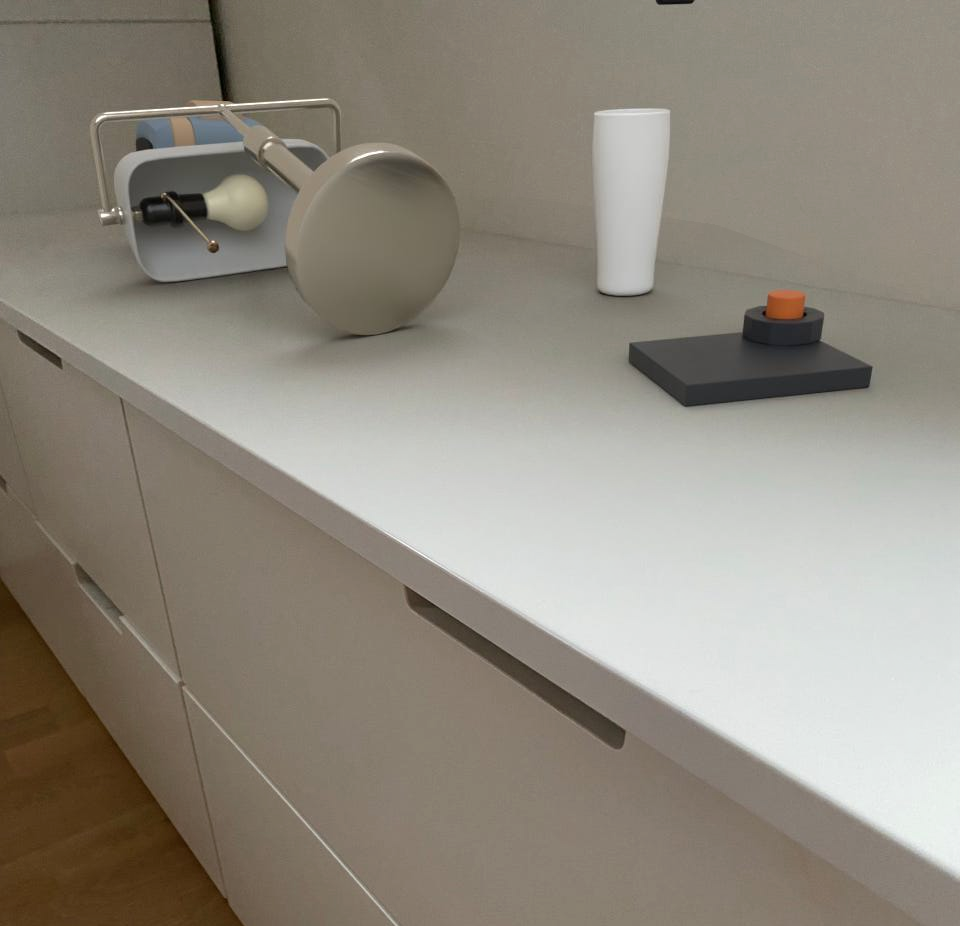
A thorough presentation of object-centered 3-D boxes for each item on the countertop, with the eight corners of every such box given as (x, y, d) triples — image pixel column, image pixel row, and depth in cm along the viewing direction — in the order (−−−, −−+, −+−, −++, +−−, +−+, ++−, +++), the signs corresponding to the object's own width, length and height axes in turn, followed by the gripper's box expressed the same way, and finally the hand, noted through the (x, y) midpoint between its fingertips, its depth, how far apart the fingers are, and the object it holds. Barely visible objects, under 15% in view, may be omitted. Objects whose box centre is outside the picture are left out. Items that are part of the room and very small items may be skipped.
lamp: (504, 393, 93) (326, 231, 117) (535, 137, 78) (323, 11, 101) (232, 453, 82) (96, 260, 106) (205, 168, 66) (53, 17, 90)
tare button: (791, 313, 72) (794, 288, 71) (809, 321, 70) (812, 295, 69) (759, 316, 72) (761, 291, 71) (775, 324, 70) (778, 298, 69)
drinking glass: (583, 298, 90) (587, 114, 83) (594, 283, 96) (598, 109, 88) (658, 299, 89) (668, 112, 81) (664, 284, 94) (674, 107, 87)
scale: (796, 342, 75) (801, 302, 74) (880, 386, 65) (888, 340, 64) (624, 358, 73) (626, 317, 71) (685, 406, 63) (688, 359, 62)
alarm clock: (146, 239, 129) (119, 101, 120) (268, 227, 134) (250, 94, 126) (168, 258, 116) (139, 106, 108) (302, 244, 121) (284, 97, 113)
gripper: (865, -355, 58) (822, -6, 67) (712, -274, 72) (693, 5, 81) (754, -364, 56) (725, -4, 65) (619, -279, 70) (610, 7, 79)
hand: (707, 1), depth 73 cm, fingers open, 9 cm apart
